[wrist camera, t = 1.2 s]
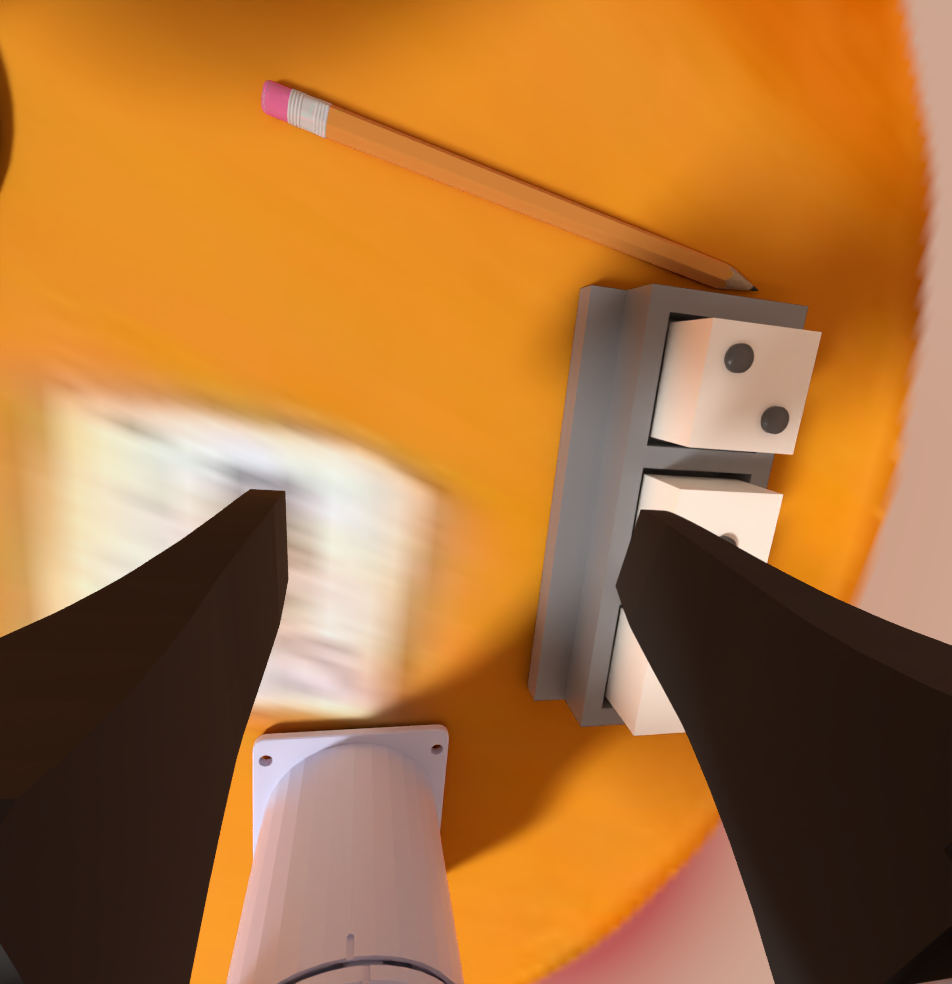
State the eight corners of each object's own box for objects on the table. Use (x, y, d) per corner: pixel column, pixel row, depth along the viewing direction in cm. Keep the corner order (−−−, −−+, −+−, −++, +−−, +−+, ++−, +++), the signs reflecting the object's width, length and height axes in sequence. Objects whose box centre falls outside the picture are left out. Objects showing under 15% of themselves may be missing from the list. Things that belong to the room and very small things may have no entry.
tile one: (715, 575, 21) (762, 603, 19) (626, 574, 20) (662, 603, 18) (736, 479, 20) (787, 495, 18) (643, 474, 19) (684, 490, 17)
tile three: (690, 691, 22) (731, 733, 20) (605, 695, 22) (636, 739, 19) (708, 606, 22) (753, 638, 19) (620, 607, 21) (655, 640, 18)
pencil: (260, 121, 16) (748, 307, 21) (258, 90, 15) (768, 292, 20) (268, 100, 17) (747, 288, 22) (266, 68, 16) (767, 272, 21)
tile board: (702, 679, 26) (741, 717, 23) (527, 687, 24) (548, 728, 21) (781, 316, 22) (840, 311, 19) (580, 288, 20) (614, 277, 17)
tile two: (743, 443, 20) (797, 455, 18) (649, 436, 19) (692, 448, 17) (767, 335, 19) (827, 332, 17) (669, 322, 18) (717, 317, 16)
